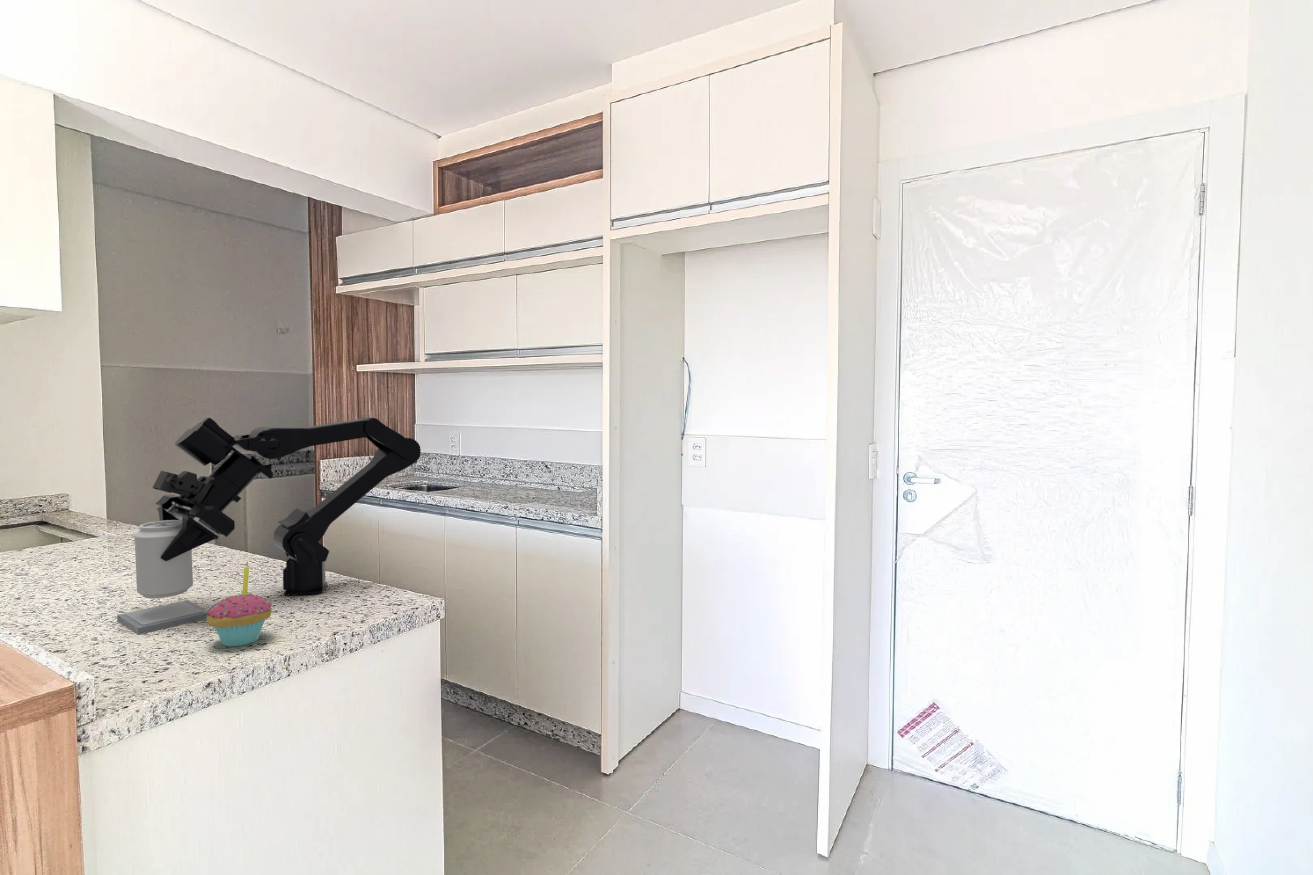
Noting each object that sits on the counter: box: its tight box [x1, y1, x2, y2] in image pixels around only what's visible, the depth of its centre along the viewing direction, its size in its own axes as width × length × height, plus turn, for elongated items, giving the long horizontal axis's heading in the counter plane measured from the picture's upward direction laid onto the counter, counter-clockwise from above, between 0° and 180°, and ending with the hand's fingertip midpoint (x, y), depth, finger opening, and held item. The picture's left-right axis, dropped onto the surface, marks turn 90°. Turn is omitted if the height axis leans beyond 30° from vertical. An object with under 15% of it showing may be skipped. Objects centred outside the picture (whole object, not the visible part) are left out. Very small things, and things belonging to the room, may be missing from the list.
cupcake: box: [206, 560, 273, 648], centre depth 98 cm, size 9×8×12 cm
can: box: [134, 520, 194, 599], centre depth 107 cm, size 8×8×12 cm
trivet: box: [116, 599, 210, 635], centre depth 107 cm, size 10×10×1 cm
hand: (154, 555), depth 106 cm, fingers closed on can, 7 cm apart
